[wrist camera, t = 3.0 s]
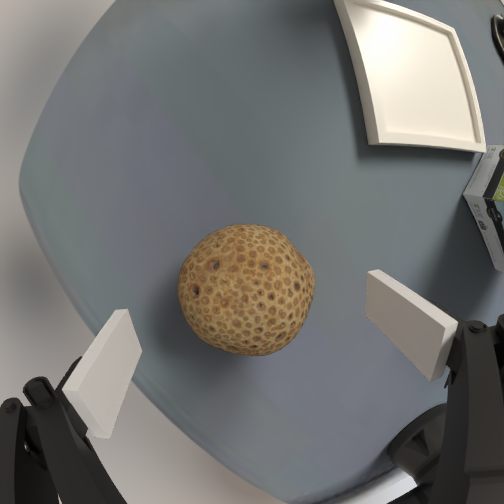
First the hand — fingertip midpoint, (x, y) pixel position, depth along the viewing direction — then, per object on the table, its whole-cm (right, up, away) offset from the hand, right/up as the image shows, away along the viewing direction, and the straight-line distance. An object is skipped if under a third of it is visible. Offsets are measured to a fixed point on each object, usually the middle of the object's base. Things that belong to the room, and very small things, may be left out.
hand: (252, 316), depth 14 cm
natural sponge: (-1, +2, +10) cm, 10 cm away
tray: (+18, +22, +6) cm, 29 cm away
